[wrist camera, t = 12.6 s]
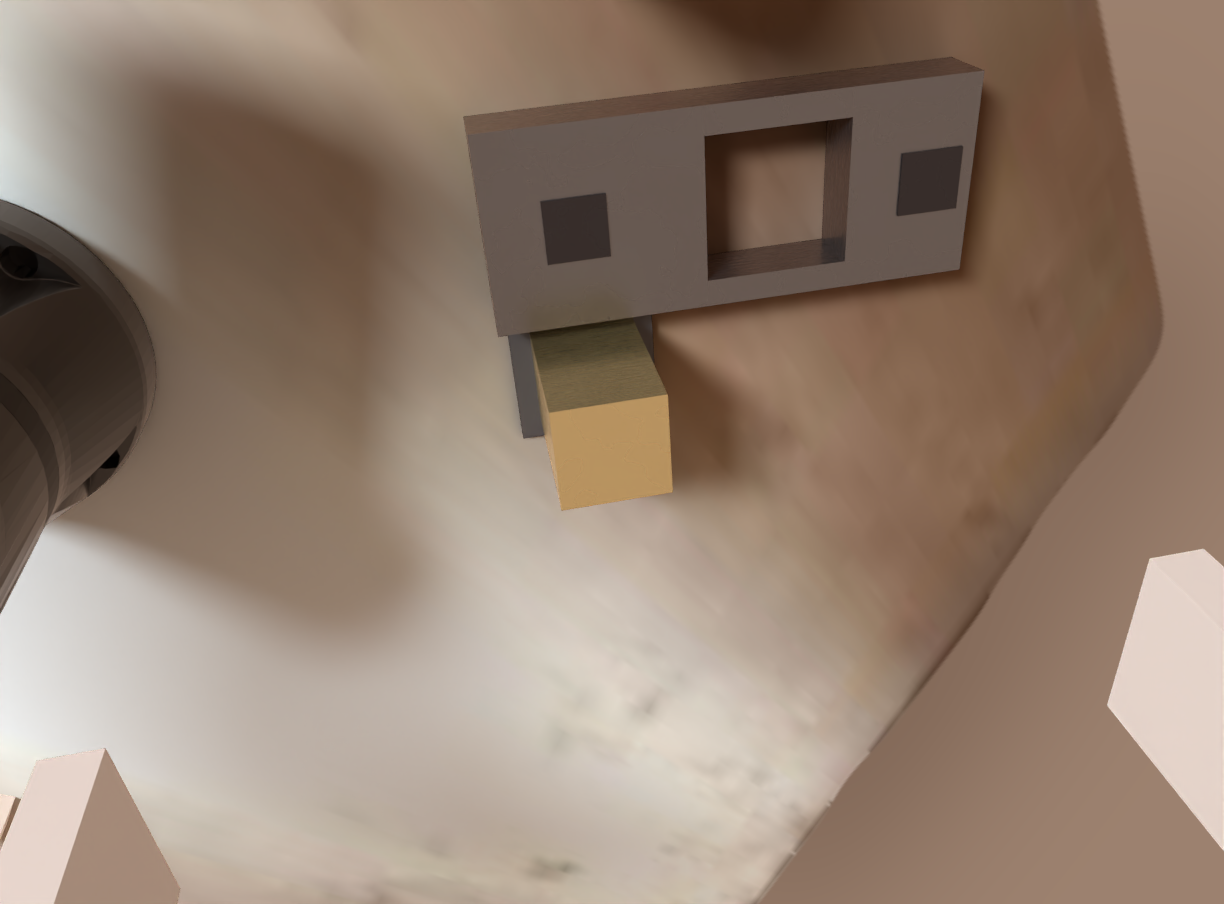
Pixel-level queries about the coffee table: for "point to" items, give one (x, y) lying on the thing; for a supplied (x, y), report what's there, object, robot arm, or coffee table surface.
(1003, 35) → the coffee table surface
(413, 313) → the coffee table surface
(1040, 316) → the coffee table surface
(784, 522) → the coffee table surface
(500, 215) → the rack rail
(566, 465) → the yellow rectangular block
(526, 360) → the rubber mat
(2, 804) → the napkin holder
